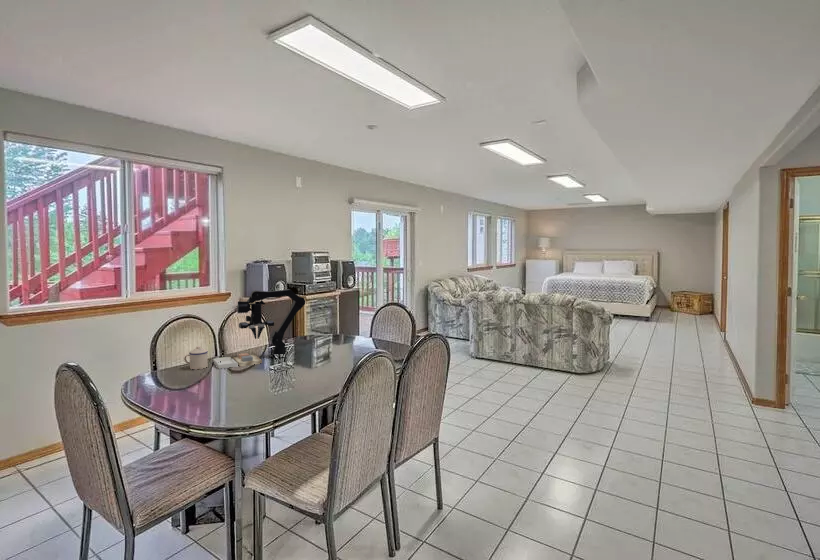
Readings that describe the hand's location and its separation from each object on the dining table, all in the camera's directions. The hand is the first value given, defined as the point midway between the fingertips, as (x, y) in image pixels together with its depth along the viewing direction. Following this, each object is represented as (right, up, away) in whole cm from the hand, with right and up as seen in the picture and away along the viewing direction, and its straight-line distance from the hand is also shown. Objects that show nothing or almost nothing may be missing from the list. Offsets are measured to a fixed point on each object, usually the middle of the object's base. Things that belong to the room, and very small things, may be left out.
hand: (256, 338), depth 252 cm
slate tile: (-2, -11, -10) cm, 15 cm away
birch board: (-3, -12, -6) cm, 14 cm away
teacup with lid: (-26, -13, -19) cm, 35 cm away
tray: (-13, -13, -12) cm, 22 cm away
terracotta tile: (-6, -10, -4) cm, 12 cm away
